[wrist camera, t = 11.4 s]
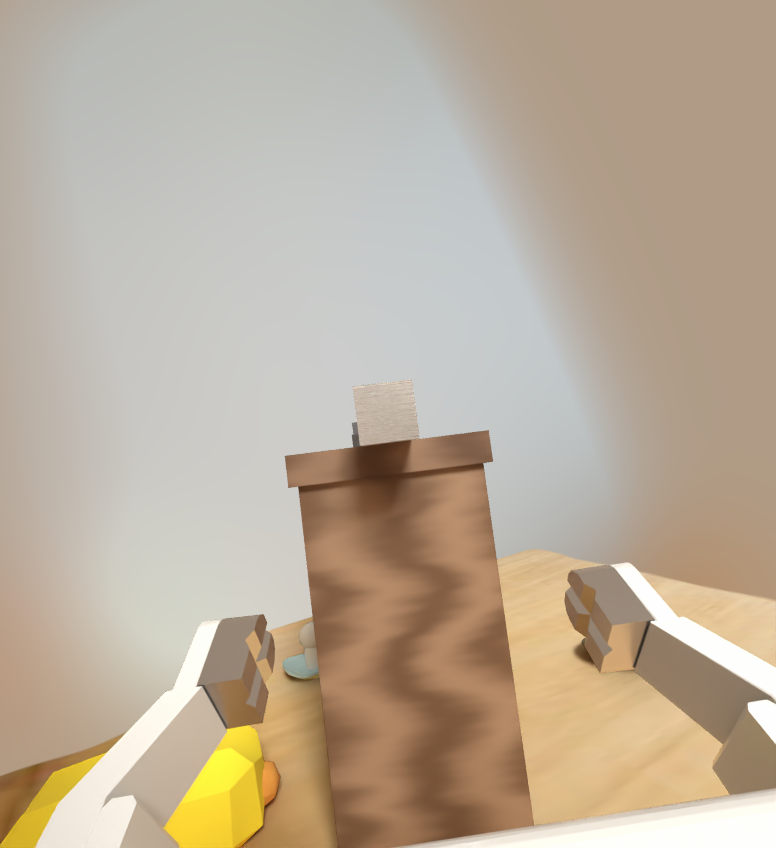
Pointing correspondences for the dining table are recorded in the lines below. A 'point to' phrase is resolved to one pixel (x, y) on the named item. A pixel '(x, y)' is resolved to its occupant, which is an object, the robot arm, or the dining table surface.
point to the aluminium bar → (386, 412)
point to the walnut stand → (411, 641)
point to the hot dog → (200, 808)
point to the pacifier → (304, 656)
